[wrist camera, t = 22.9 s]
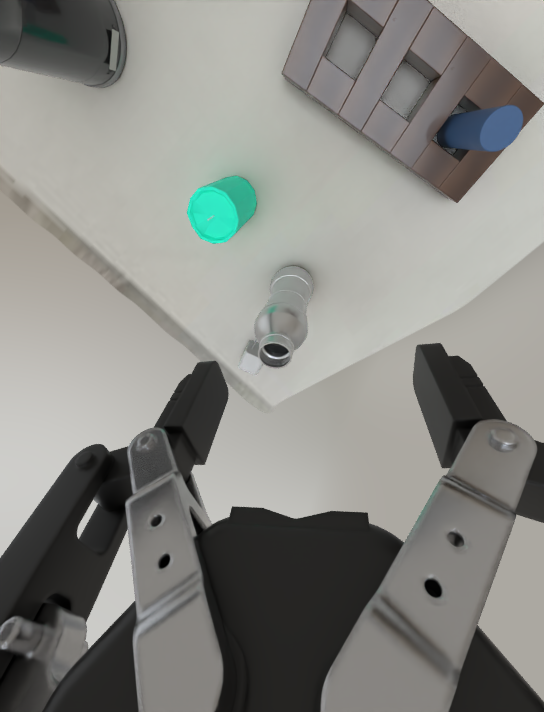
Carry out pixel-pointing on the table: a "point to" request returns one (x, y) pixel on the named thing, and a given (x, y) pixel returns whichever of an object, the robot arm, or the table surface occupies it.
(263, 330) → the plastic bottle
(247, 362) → the usb wall charger
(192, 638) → the robot arm
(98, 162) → the table surface
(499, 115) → the peg
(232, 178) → the candle
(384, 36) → the rack
